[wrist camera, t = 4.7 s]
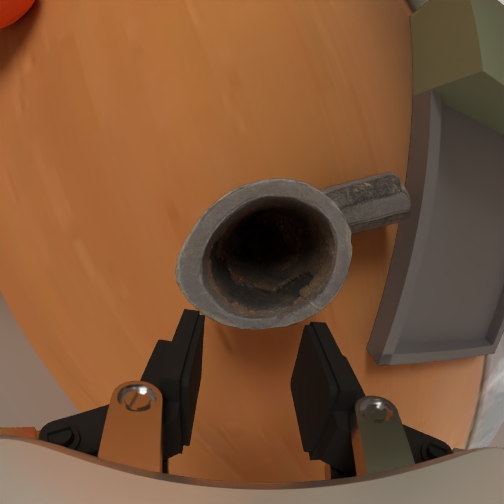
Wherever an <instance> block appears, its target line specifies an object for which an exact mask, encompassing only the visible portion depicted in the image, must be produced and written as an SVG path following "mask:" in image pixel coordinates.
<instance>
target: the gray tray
mask: <svg viewBox="0 0 504 504" xmlns="http://www.w3.org/2000/svg"><path fill="white" fill-rule="evenodd" d="M410 24H411V37H412V59H413V99H412V122H411V137H410V148H409V159H408V168H407V176H406V183H405V188H406V190H407V192H408V193H409V198H410V204H411V214H410V216H409V218H407V219H406V220H405V221H403V222H399V227H398V232H397V237H396V242H395V247H394V251H393V256H392V260H391V264H390V269H389V273H388V277H387V281H386V285H385V289H384V292H383V296H382V300H381V303H380V307H379V310H378V314H377V317H376V320H375V324H374V327H373V330H372V333H371V336H370V339H369V342H368V345H367V348H366V349H367V350H368V352H369V353H370V354H371V356H372V357H373V359H374V360H375V362H376V363H377V365H397V364H412V363H424V362H435V361H444V360H453V359H461V358H468V357H475V356H481V355H487V354H493V353H495V350H496V348H497V346H498V344H499V341H500V339H501V336H502V334H503V331H504V5H503V4H501V3H500V2H499V1H498V0H429V1H428V2H427V3H425V4H424V5H423V6H422V7H420V8H419V9H418V10H417V11H415V12H414V13H413V14H412V15H411V16H410Z"/></svg>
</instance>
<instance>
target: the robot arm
mask: <svg viewBox="0 0 504 504" xmlns="http://www.w3.org/2000/svg"><path fill="white" fill-rule="evenodd" d="M204 320H205V316H204V315H199V311H195V310H187V309H184V311H183V314H182V317H181V319H180V322H179V324H178V327H177V329H176V332H175V335H174V337H173V340H172V341H165V340H158V342H157V344H156V346H155V348H154V351H153V353H152V355H151V357H150V359H149V362H148V364H147V366H146V368H145V371H144V373H143V375H142V378H141V380H140V381H129V382H125V383H123V384H121V385H119V386H118V387H117V388H115V389H114V391H113V393H112V396H111V400H110V404H108V405H105V406H102V407H99V408H96V409H93V410H90V411H86V412H83V413H80V414H76V415H73V416H70V417H67V418H62V419H59V420H55V421H52V422H50V423H48V424H46V425H45V426H44V427H43V428H42V429H41V431H36V429H35V428H34V427H23V428H0V504H504V448H502V447H483V448H475V449H470V450H464V449H458V448H454V449H453V450H451V448H450V447H449V446H448V445H447V444H446V443H445V442H443V441H441V440H439V439H436V438H434V437H431V436H429V435H427V434H424V433H422V432H419V431H417V430H415V429H412V428H410V427H408V426H406V425H403V424H402V422H401V419H400V417H399V414H398V411H397V409H396V407H395V406H394V405H393V404H392V403H391V402H390V401H388V400H386V399H385V398H382V397H378V396H365V394H364V392H363V390H362V388H361V386H360V384H359V382H358V380H357V378H356V376H355V374H354V372H353V370H352V368H351V366H350V364H349V362H348V360H347V358H346V357H345V356H343V355H342V354H341V352H340V350H339V348H338V346H337V344H336V342H335V340H334V338H333V336H332V334H331V332H330V330H329V328H328V326H327V324H326V323H322V322H310V324H309V325H305V327H304V330H303V334H302V338H301V342H300V346H299V350H298V354H297V358H296V362H295V366H294V370H293V374H292V378H291V392H292V397H293V401H294V406H295V411H296V416H297V421H298V426H299V430H300V435H301V440H302V445H303V449H304V452H309V456H310V460H322V461H323V462H325V480H321V481H309V482H289V483H250V482H230V481H217V480H207V479H198V478H191V477H183V476H177V475H171V474H169V458H170V457H172V456H174V455H176V454H178V453H181V454H182V451H183V445H185V446H189V445H190V440H191V434H192V427H193V421H194V415H195V410H196V404H197V398H198V392H199V387H200V381H201V371H202V352H203V335H204Z"/></svg>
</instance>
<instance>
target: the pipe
mask: <svg viewBox="0 0 504 504" xmlns="http://www.w3.org/2000/svg"><path fill="white" fill-rule="evenodd" d="M410 214H411V204H410V198H409V193H408V192H407V190H406V188H405V186H404V184H403V182H402V181H401V179H400V178H399V177H398V176H397V175H396V174H395V173H384V174H379V175H374V176H369V177H366V178H362V179H358V180H354V181H351V182H347V183H343V184H339V185H335V186H331V187H327V188H324V189H321V190H318V189H316V188H314V187H313V186H311V185H309V184H307V183H304V182H300V181H296V180H291V179H279V178H277V179H268V180H261V181H257V182H254V183H250V184H247V185H244V186H241V187H239V188H237V189H234V190H232V191H230V192H229V193H227V194H226V195H224V196H223V197H222V198H220V199H219V200H217V201H216V202H215V203H214V204H213V205H212V206H211V207H209V208H208V209H207V211H206V212H205V213H204V214H203V215H202V217H201V218H200V219H199V221H198V222H197V223H196V225H195V226H194V228H193V230H192V231H191V233H190V234H189V236H188V238H187V239H186V241H185V243H184V245H183V247H182V249H181V251H180V253H179V255H178V259H177V266H176V271H175V274H176V281H177V284H178V286H179V287H180V289H181V291H182V293H183V294H184V296H185V297H186V298H187V300H188V301H189V302H190V303H191V304H192V305H193V306H194V307H195V308H197V309H198V310H199V311H200V312H201V313H202V314H204V315H205V316H206V317H208V318H210V319H212V320H215V321H217V322H218V323H220V324H223V325H227V326H233V327H237V328H240V329H253V330H259V329H267V328H279V327H286V326H290V325H293V324H296V323H298V322H301V321H303V320H305V319H308V318H310V317H312V316H313V315H315V314H317V313H318V312H320V311H321V310H322V309H323V308H325V307H326V306H327V305H328V304H329V303H330V302H331V301H332V300H333V299H334V297H335V296H336V295H337V294H338V292H339V291H340V289H341V288H342V285H343V283H344V282H345V280H346V278H347V274H348V270H349V267H350V263H351V257H352V245H351V234H352V233H357V232H361V231H365V230H369V229H374V228H378V227H381V226H385V225H389V224H394V223H398V222H403V221H405V220H406V219H407V218H409V216H410Z"/></svg>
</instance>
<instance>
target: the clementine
mask: <svg viewBox="0 0 504 504" xmlns="http://www.w3.org/2000/svg"><path fill="white" fill-rule="evenodd" d="M34 1H35V0H0V28H4V27H6V26H9V25H11V24H13V23H14V22H16V21H17V20H19V19H20V18H21V17H22V16H23V15H24V14H25V13H26V12H27V11H28V10H29V9H30V7H31V6H32V4H33V3H34Z"/></svg>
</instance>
